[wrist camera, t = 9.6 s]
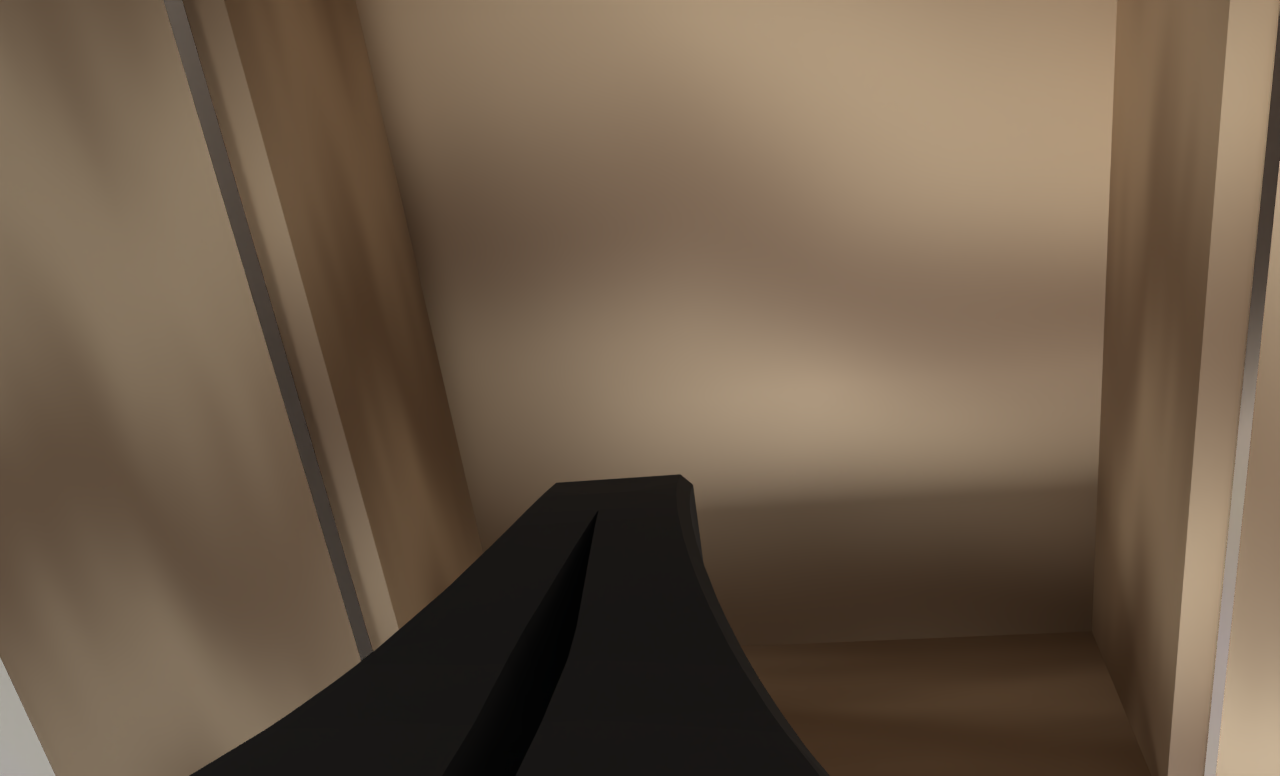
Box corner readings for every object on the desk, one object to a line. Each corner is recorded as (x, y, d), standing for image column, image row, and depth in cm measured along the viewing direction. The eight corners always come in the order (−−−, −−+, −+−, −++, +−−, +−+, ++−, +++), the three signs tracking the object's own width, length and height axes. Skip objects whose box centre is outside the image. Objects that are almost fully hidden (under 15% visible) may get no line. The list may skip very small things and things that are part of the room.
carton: (1113, 656, 21) (1197, 850, 17) (493, 681, 23) (433, 860, 19) (1169, -425, 14) (1333, -538, 10) (267, -263, 16) (93, -303, 12)
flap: (420, 858, 18) (165, 1009, 16) (411, 845, 18) (158, 992, 16) (97, -217, 11) (-390, -178, 10) (91, -212, 12) (-383, -173, 10)
